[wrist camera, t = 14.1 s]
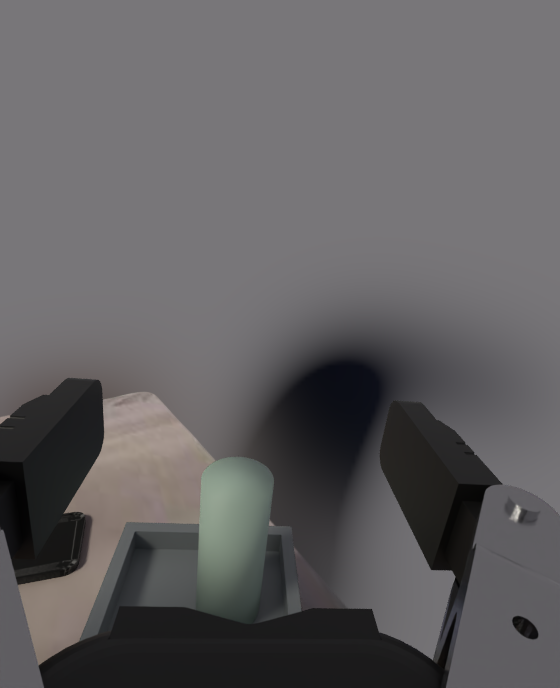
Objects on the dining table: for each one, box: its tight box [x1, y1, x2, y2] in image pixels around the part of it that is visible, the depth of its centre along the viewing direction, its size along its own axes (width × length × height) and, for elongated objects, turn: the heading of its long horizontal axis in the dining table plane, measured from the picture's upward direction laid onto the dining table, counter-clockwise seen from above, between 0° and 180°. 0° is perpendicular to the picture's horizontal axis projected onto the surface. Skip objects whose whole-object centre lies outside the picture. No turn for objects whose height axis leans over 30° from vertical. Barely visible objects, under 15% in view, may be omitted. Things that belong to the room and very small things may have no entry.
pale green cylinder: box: [196, 457, 274, 624], centre depth 29 cm, size 5×5×12 cm
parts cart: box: [79, 522, 302, 642], centre depth 31 cm, size 15×12×8 cm
